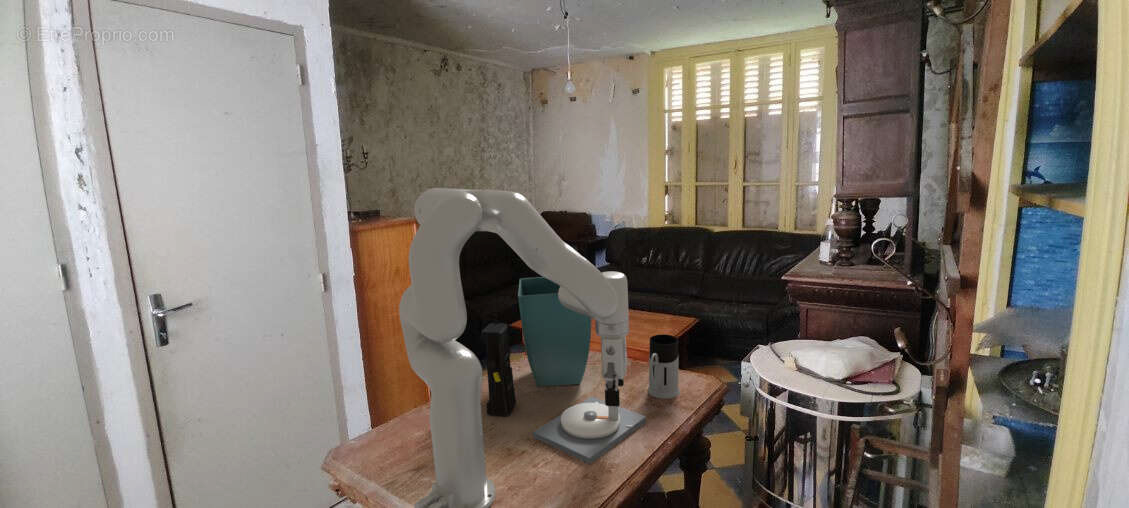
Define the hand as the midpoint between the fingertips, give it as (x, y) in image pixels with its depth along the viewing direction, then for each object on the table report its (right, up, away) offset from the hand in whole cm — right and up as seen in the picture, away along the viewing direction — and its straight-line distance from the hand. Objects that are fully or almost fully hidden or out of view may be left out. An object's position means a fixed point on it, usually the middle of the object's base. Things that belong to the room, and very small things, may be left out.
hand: (614, 395), depth 123 cm
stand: (-5, -9, +3) cm, 11 cm away
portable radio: (-28, -8, +13) cm, 32 cm away
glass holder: (+14, -5, +18) cm, 24 cm away
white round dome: (-6, -7, +2) cm, 9 cm away
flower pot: (-14, -3, +32) cm, 35 cm away
